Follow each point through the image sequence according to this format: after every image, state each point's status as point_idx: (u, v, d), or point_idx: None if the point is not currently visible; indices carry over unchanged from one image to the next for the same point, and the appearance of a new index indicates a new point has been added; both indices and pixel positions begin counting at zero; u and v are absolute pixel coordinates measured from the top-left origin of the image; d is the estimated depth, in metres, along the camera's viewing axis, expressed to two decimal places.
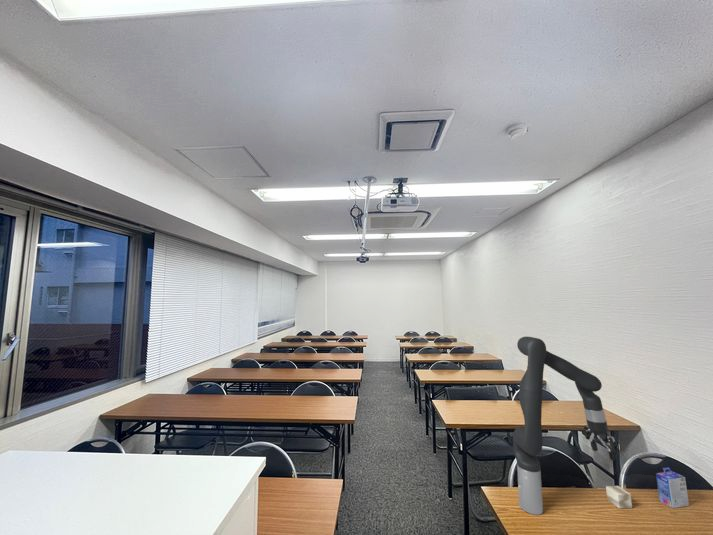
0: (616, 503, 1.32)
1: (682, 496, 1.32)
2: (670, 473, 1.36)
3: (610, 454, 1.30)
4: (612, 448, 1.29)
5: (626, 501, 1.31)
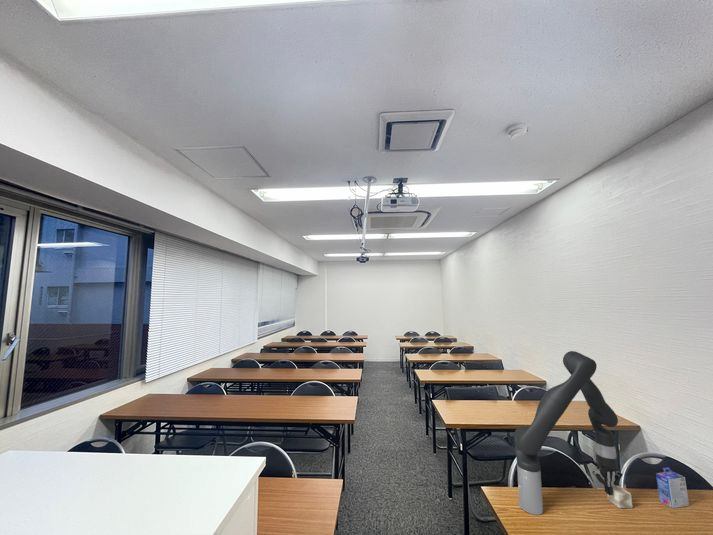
0: (616, 503, 1.32)
1: (682, 496, 1.32)
2: (670, 473, 1.36)
3: (611, 489, 1.33)
4: (617, 482, 1.33)
5: (627, 501, 1.31)
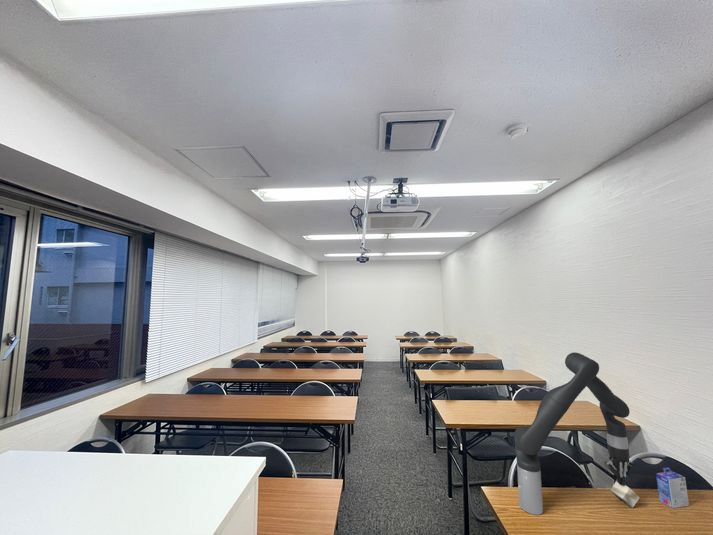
0: (621, 494, 1.32)
1: (682, 496, 1.32)
2: (670, 473, 1.36)
3: None
4: (629, 472, 1.34)
5: (632, 499, 1.31)
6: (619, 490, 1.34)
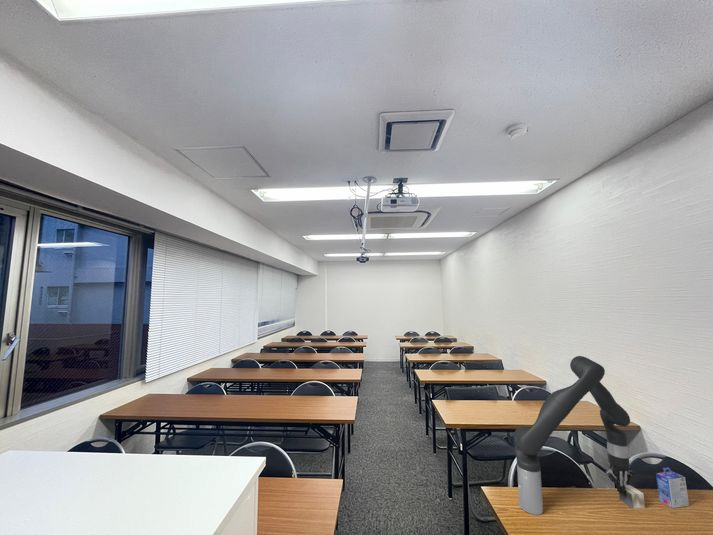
0: (631, 492, 1.33)
1: (682, 496, 1.32)
2: (670, 473, 1.36)
3: None
4: (629, 481, 1.34)
5: (638, 502, 1.31)
6: (630, 489, 1.34)
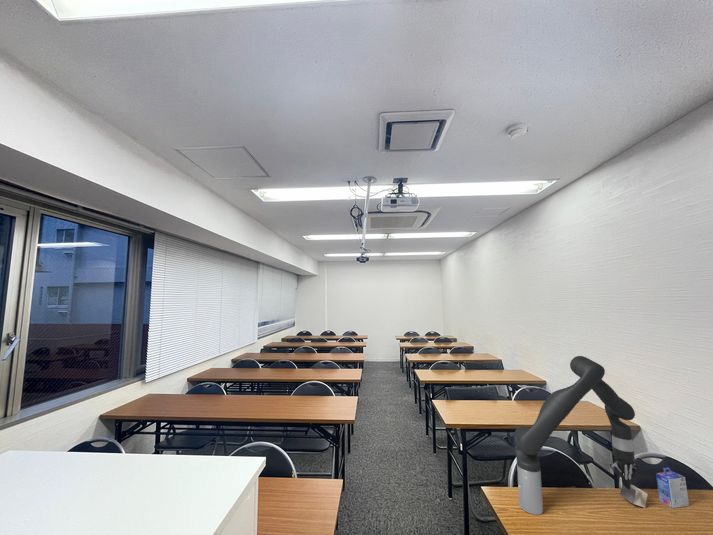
0: (635, 489, 1.33)
1: (682, 496, 1.32)
2: (670, 473, 1.36)
3: (629, 482, 1.34)
4: (634, 474, 1.34)
5: (639, 500, 1.31)
6: (634, 487, 1.34)
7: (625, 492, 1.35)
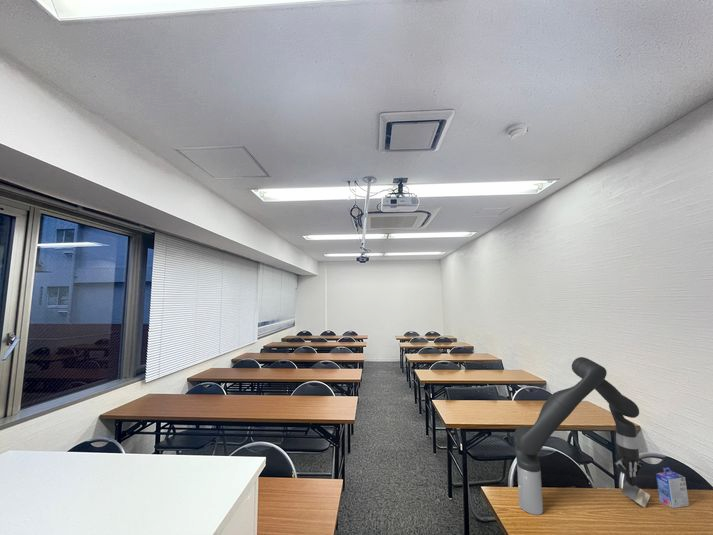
0: (639, 488, 1.33)
1: (682, 496, 1.32)
2: (670, 473, 1.36)
3: (633, 479, 1.34)
4: (639, 472, 1.34)
5: (641, 499, 1.31)
6: (637, 487, 1.34)
7: (627, 489, 1.35)
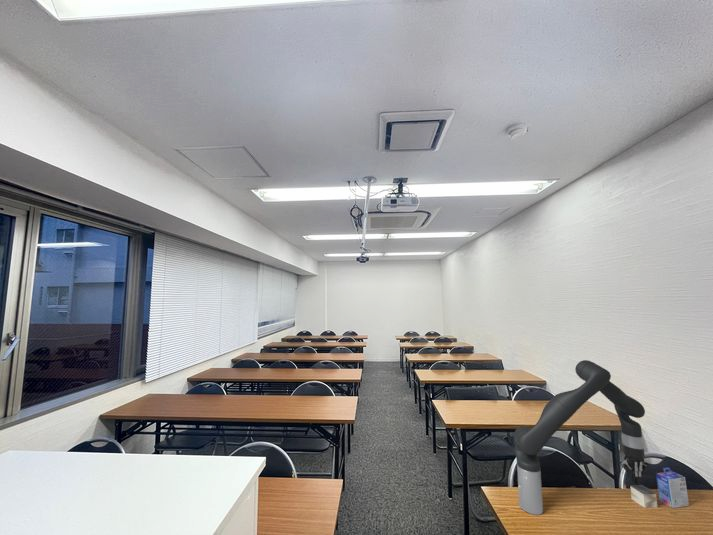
0: None
1: (682, 496, 1.32)
2: (670, 473, 1.36)
3: (639, 479, 1.34)
4: (644, 472, 1.35)
5: (648, 500, 1.31)
6: None
7: (640, 488, 1.36)
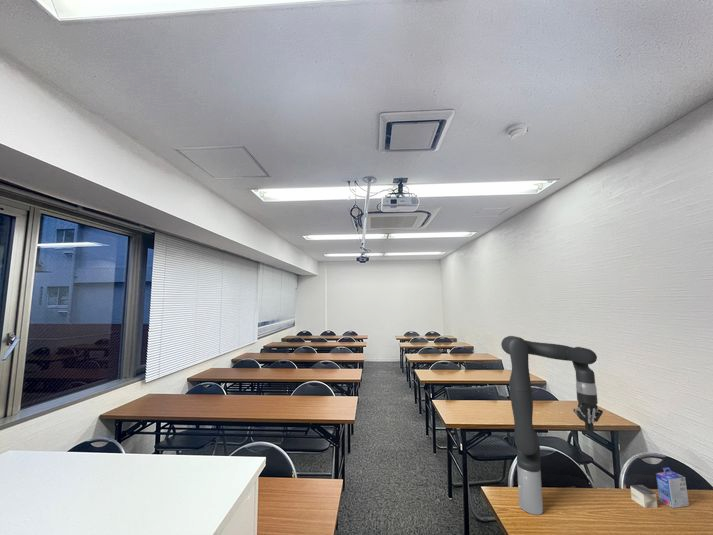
0: None
1: (682, 496, 1.32)
2: (670, 473, 1.36)
3: None
4: (597, 418, 1.33)
5: (648, 500, 1.31)
6: None
7: (640, 488, 1.36)
